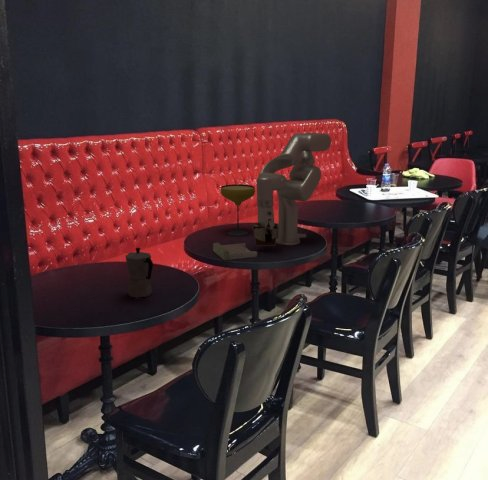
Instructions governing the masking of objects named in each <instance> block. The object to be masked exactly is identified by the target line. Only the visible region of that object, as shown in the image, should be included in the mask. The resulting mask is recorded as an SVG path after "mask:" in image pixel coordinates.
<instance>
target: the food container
mask: <svg viewBox="0 0 488 480" xmlns="http://www.w3.org/2000/svg"><path fill="white" fill-rule="evenodd" d="M274 224H275V226H274V227H273V230H272V242H265V234H266V231H265V228H264V227H263V226H261V225H259V223H258V222H257V223H254V224H253V226H252V228H251V229H252V231H253V235H254V243H255V246H256V247H261V246H262V247H263V246H265V247H267V246H269V247H270V246H273V247H275V246H276V245H277V243H276V239H277V237H278V224H277V223H276V222H274ZM267 227H269V226H267ZM267 231H268V229H267Z"/></svg>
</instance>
